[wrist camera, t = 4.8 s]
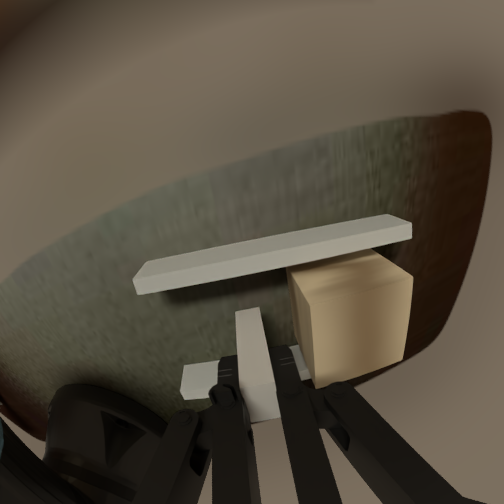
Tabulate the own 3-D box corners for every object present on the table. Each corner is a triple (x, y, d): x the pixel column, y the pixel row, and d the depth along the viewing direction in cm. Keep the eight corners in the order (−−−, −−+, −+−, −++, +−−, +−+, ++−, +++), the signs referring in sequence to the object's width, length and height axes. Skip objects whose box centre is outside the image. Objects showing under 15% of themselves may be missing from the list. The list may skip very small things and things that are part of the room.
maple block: (294, 334, 20) (315, 389, 14) (284, 262, 18) (309, 305, 12) (365, 315, 20) (402, 359, 15) (364, 244, 18) (413, 276, 13)
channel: (188, 373, 20) (184, 400, 17) (146, 261, 17) (132, 279, 14) (384, 328, 21) (401, 348, 18) (387, 214, 18) (411, 223, 15)
